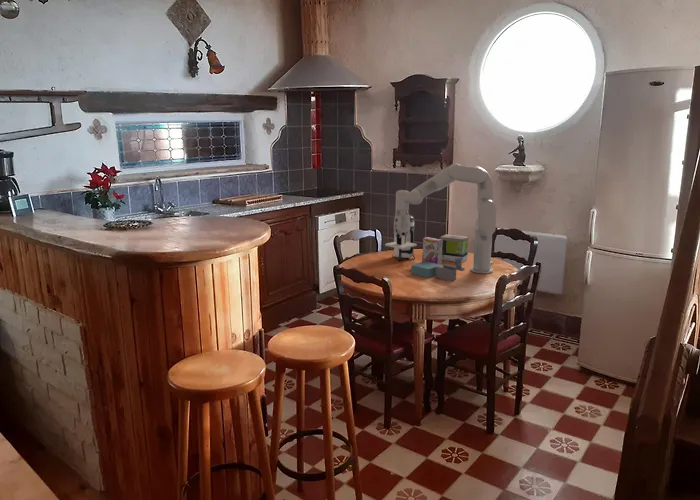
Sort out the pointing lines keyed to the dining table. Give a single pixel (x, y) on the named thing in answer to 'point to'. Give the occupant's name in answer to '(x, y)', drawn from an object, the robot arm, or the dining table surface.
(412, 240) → the coffee press
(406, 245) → the lid
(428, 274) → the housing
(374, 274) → the dining table surface
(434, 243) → the candy bar box
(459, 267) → the bolt
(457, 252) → the tea box
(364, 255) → the dining table surface
